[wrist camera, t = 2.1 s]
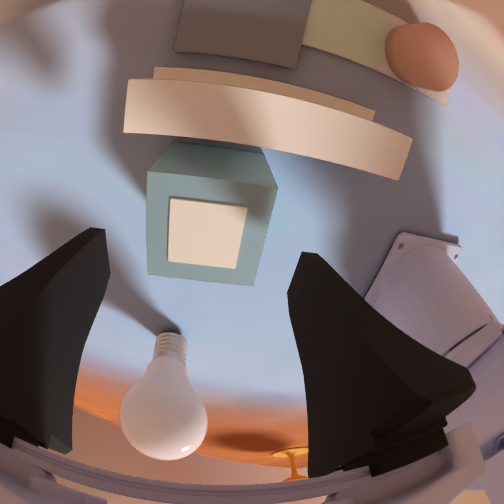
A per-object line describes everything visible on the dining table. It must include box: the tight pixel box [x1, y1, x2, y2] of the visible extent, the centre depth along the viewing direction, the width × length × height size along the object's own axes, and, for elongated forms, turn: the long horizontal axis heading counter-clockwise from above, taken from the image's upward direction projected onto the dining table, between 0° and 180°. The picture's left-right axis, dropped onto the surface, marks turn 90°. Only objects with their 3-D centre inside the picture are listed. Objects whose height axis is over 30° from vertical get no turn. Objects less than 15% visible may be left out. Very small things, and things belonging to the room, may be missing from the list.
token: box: [385, 23, 459, 92], centre depth 10 cm, size 4×4×2 cm
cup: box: [272, 447, 325, 504], centre depth 45 cm, size 12×12×17 cm
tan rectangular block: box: [124, 67, 413, 181], centre depth 11 cm, size 3×12×5 cm, turn 79°
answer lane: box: [302, 0, 451, 106], centre depth 11 cm, size 4×10×1 cm, turn 78°
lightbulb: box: [119, 332, 208, 460], centre depth 18 cm, size 6×6×11 cm
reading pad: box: [173, 0, 312, 69], centre depth 10 cm, size 5×6×1 cm
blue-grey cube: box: [146, 142, 278, 286], centre depth 13 cm, size 5×5×5 cm
